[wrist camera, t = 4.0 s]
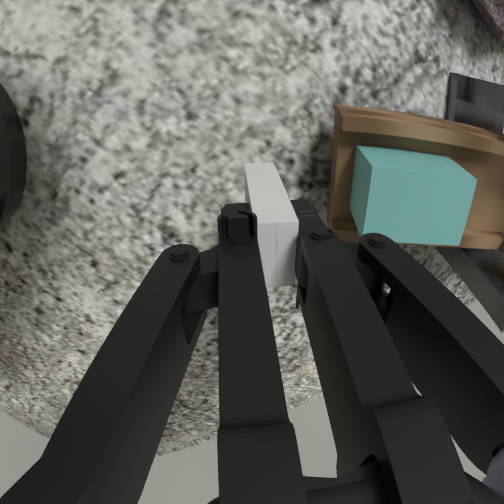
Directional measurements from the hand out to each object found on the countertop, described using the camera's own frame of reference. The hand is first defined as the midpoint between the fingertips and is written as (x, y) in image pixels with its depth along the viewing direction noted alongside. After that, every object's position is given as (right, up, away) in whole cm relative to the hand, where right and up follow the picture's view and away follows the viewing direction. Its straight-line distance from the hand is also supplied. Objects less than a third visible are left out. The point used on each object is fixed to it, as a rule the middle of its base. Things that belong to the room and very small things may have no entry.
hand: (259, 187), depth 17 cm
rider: (+9, +1, +1) cm, 9 cm away
